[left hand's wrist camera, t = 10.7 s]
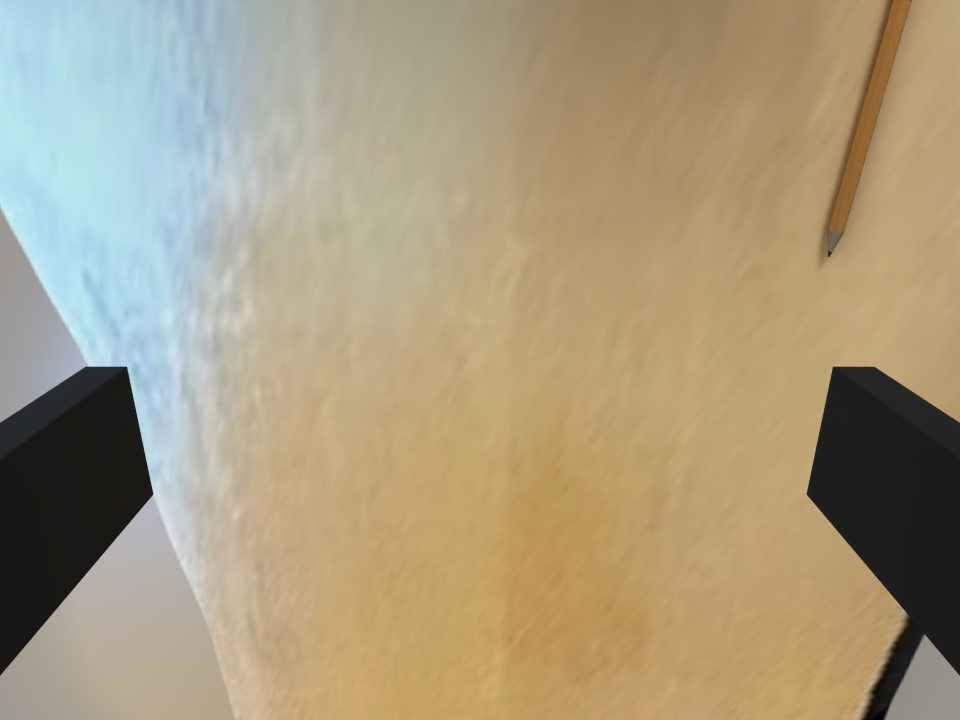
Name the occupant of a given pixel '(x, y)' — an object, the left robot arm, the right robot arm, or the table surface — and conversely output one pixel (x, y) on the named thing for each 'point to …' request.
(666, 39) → the table surface
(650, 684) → the table surface
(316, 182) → the table surface
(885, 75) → the pencil
